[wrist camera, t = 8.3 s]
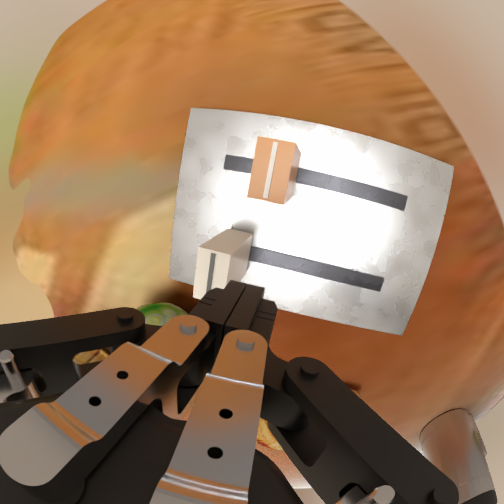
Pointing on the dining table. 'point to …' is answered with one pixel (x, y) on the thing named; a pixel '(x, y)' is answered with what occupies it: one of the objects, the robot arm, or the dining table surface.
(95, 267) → the dining table surface
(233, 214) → the fader panel
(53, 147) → the dining table surface
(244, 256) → the cream fader
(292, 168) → the orange fader
